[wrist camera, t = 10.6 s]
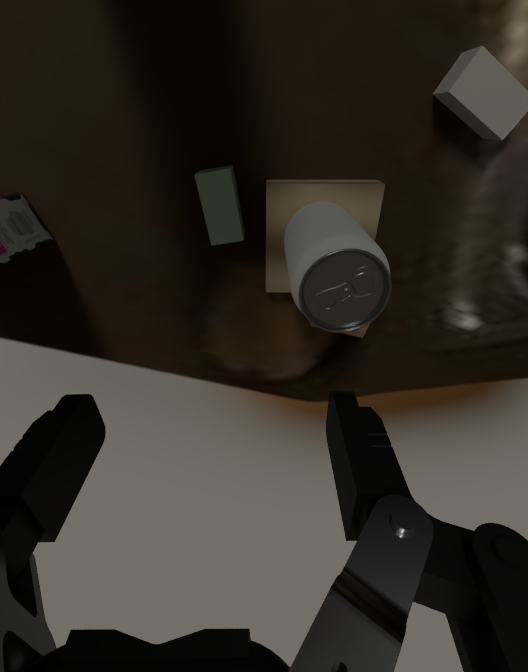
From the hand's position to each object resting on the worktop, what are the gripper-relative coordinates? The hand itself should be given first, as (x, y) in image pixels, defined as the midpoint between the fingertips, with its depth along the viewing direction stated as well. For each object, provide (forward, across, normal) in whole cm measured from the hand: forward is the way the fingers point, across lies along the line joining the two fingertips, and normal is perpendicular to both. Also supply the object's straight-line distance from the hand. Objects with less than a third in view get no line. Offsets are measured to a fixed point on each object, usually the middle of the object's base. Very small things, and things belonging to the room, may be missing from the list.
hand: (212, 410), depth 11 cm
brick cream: (+24, -18, -8) cm, 31 cm away
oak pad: (+25, -7, +2) cm, 26 cm away
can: (+22, -7, +1) cm, 23 cm away
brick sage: (+25, +2, -2) cm, 25 cm away
